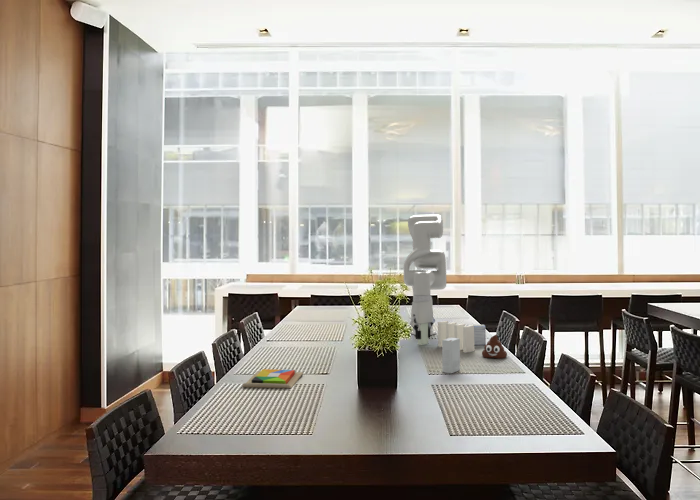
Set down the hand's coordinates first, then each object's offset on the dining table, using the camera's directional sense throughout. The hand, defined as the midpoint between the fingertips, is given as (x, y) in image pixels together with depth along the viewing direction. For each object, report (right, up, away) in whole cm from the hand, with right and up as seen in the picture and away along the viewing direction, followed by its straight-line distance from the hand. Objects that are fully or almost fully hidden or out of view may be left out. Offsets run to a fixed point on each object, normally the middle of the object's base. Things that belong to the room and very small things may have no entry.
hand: (422, 337), depth 270 cm
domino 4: (+14, -3, -14) cm, 20 cm away
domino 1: (0, -3, 0) cm, 3 cm away
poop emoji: (+26, -4, -29) cm, 39 cm away
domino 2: (+9, -3, -5) cm, 10 cm away
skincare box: (+4, -5, -52) cm, 52 cm away
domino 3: (+12, -3, -9) cm, 15 cm away
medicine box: (+24, -3, -3) cm, 24 cm away
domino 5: (+17, -3, -18) cm, 25 cm away
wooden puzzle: (-61, -7, -60) cm, 85 cm away
